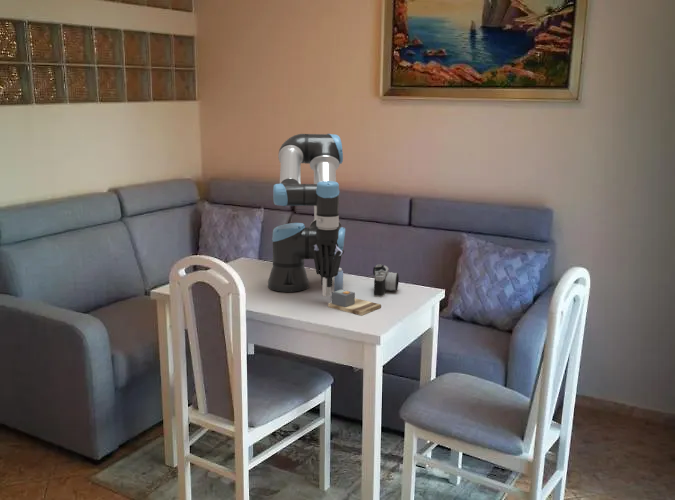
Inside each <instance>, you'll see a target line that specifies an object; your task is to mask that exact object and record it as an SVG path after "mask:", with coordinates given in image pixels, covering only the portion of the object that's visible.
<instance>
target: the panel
mask: <svg viewBox="0 0 675 500" xmlns="http://www.w3.org/2000/svg"><path fill="white" fill-rule="evenodd" d="M327 307H328V308H332V309H335V310H338V311H341V312H347V313H350V314H354V315H358V316H364V315H366V314H369V313H371V312H374V311H376V310H379V309H381V308H382V304H381V303H376V302H372V301H367V300H365V299H364V300H363V299H360V298H356V297H355V304H353V305H351V306H348V307H342V306H338V305H334V304H331V302H328V306H327Z"/></svg>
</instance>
